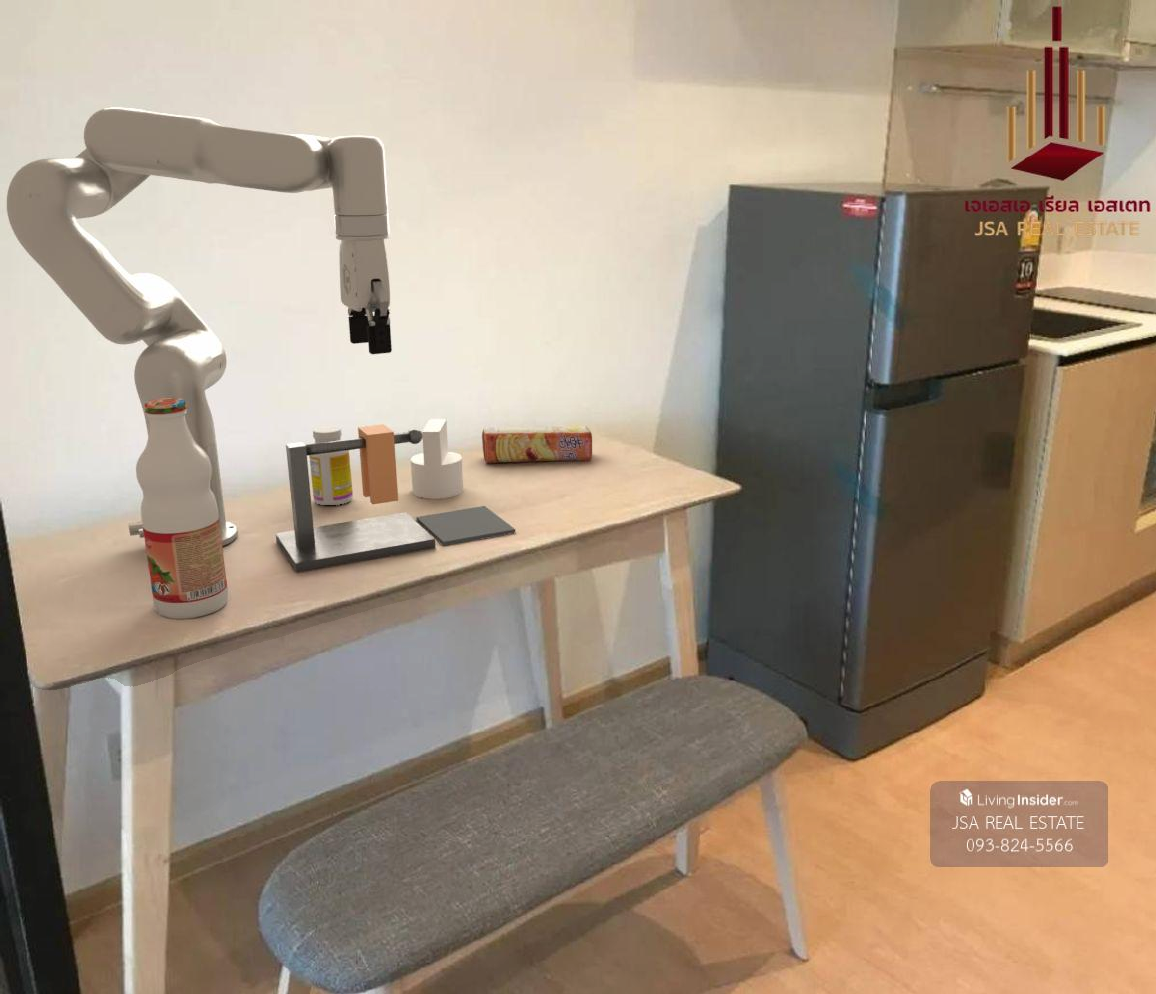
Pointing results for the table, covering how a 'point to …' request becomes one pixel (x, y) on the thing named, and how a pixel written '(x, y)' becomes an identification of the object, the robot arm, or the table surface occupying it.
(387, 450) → the hook link
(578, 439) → the snack package
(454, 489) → the base with upright slab
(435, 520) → the rubber mat
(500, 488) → the table surface
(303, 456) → the hanger stand
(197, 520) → the fruit juice
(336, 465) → the supplement bottle
